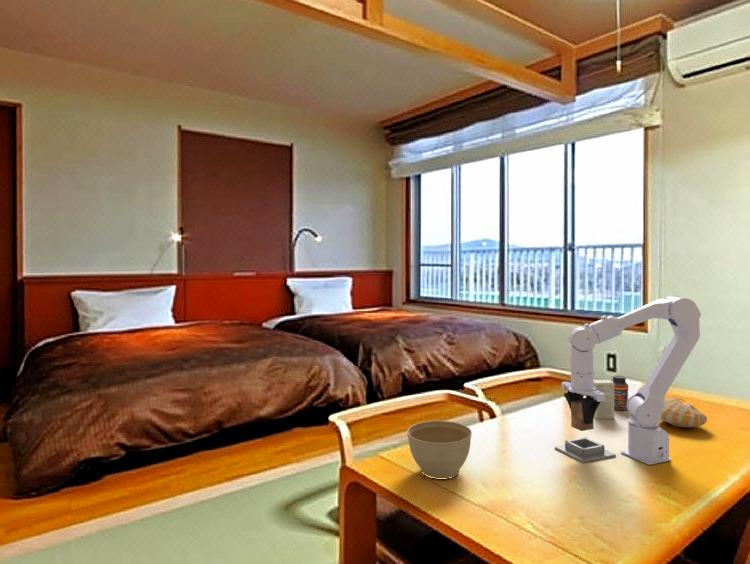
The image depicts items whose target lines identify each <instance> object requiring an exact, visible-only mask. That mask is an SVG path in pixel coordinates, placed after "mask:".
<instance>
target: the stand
mask: <svg viewBox="0 0 750 564" xmlns="http://www.w3.org/2000/svg"><path fill="white" fill-rule="evenodd" d="M564 442H565V443H564V444H563V445H556V446H554V449H555V450H557V451H558V452H561V453H562V454H565V455H566V456H567V457H568V456H569V457H570V458H573V459H574V460H576V461H578V462H579V463H582V464H585V463H591V462H594V461H595V462H596V461H601V460H604V459H610V458H611V459H612V458H615V457H616V455H617V454H616V453H614V452H612V451H609V450H606V449H605V444H604V445H603V444H601V443H599V442H597V441H595V440H592V439H590V438H588V437H581V438H574V439H569V440H565V441H564Z"/></svg>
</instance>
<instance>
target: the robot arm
mask: <svg viewBox="0 0 750 564" xmlns="http://www.w3.org/2000/svg"><path fill="white" fill-rule="evenodd" d="M701 316H702V313H701V311H700V309H699V308H698V305H697V304H696V302H695V301H694V300H692V299H691V298H690V299H689V298H687V297H685V298H684V297H680V296H678V295H668V296H666V297H664V298H658V299H656V300H654V301H652V302H649V303H647V304H644V305H643V306H641V307H638V308H636V309H634V310H632V311H630V312H627V313H625V314H623V315H621V316H619V317H615V316H613V315H608V316H607V315H602V316H600V319H599V320H596V321H593V322H590V323H584V324H583V326H584V327H575V328H573V330H572V331H570V334H569V336H568V340H569V343H570V344H571V349H570V353H571V354H570V382H569V381H562V382H561V383H560V385H561V387H560V389H561V390H563V391H565V390H566V391H567V392H564V393H563V397H564V398H565V400H566V402H567V404H568V406H569V410H570V411H571V402H573V401H579V400H580V402H581V404H582V408H583V415H584V423H585V424H591V423H592V422H593V423H594V419H595V418H594V415H595V412H596V409H597V407H598V406H599V404H600V403H601V401H605V394H604V393H602V392H600V391H598V390H596V389H595V388H593V380H594V353H593V352H594V350H593V349H594V347H595V346H596V345H599V344H602V343H604V342H607V341H609V340H612V339H615V338H617V337H620V336H621V335H622V332H623V331H624V329H626V328H630V327H633V326H634V325H638V324H640V323H644V322H647V321H649V320H652V319H661V320H667V321H668V322H669V324H670V326H671V329H672V330H673V333H674V335H673V337H672V338H671V340H670V342H669V344H668V345H667V346H666V347H667V348H666V349H665V351H664V352H663V353H662V356H661V357H660V358H659V361H658V362H657V364H656V366H655V367H654V369H653V370H652V373H651V374H650V376H649V377H648V380H647V381H646V382H645V384H644V385H643V386H641V387H640V388H638V389H637V391H636V392H635V393H634V394H633V395H631V396H630V397H628V401H627V411H628V412H629V414H630V416H629V418H628V419H627V422H628V427H627V428H628V429H627V432H628V433H627V436H628V440H627V441H628V442H627V446H628V449H622V450H620V454H623V455H626V456H628V457H630V458H632V459H635V460H636V461H639V462H642V463H644V464H646V465H655V464H659V463H661V464H662V463H665V462H671V461H672V458H671V457H670V437H669V434H668V432H667V431H666V430H664V429H663V428H662V427H660V425H659V424H660V421H661V420H660V419H661V411H662V409H663V407H664V399H666V398H665V397H666V394H667V392H668V391H669V389H670V387H671V386H672V385H673V382H675V379H676V378H677V376H678V375H679V373H680V371H682V368H683V366H684V365H685V364H686V361H687V360H688V358H689V356H690V354H691V353H692V351H693V350H694V347H695V346H696V345H697V343H698V342H699V339H700V337H701V336H700V335H701V331H700V330H701V329H700V326H701V325H700V318H701Z"/></svg>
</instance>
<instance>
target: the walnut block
mask: <svg viewBox="0 0 750 564" xmlns="http://www.w3.org/2000/svg"><path fill="white" fill-rule="evenodd" d="M570 414H571V416H570V419H571V421H570V422H571V423H570V426H571V428H574V429H575V430H577V431H581V432H583V431H584V432H585V431H590V430H594V421H593V422H592V423H591V424H585V423H584V415H583V408H582V404H581V402H580V400H579V401H573V402H571V410H570Z"/></svg>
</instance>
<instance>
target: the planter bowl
mask: <svg viewBox="0 0 750 564" xmlns="http://www.w3.org/2000/svg"><path fill="white" fill-rule="evenodd" d="M406 431H407V432H406V433H407V438H408V446H409V451H410V453H411V456H412V458H413V460H414V461H415V463H416V464H417V465H418V467H419V468H420V471H422V472H423V473H424V474H426V475H428V476H431V477H435V478H449V477H453V476H456V475H457V474H458V473H459V474H460V469H461V468H462V467H463V465H464V464H465V462H466V460H467V458H468V456H469V452H470V448H471V439H472V430H471V428H469V427H468V426H466V425H465V424H461V423H459V422H456V421H450V420H426V421H423V422H419V423H415V424H413V425H411V426H409V428H408V429H407V430H406ZM422 472H421V473H422ZM459 474H458V475H459ZM458 475H457V476H458ZM457 476H456V477H457Z"/></svg>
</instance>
